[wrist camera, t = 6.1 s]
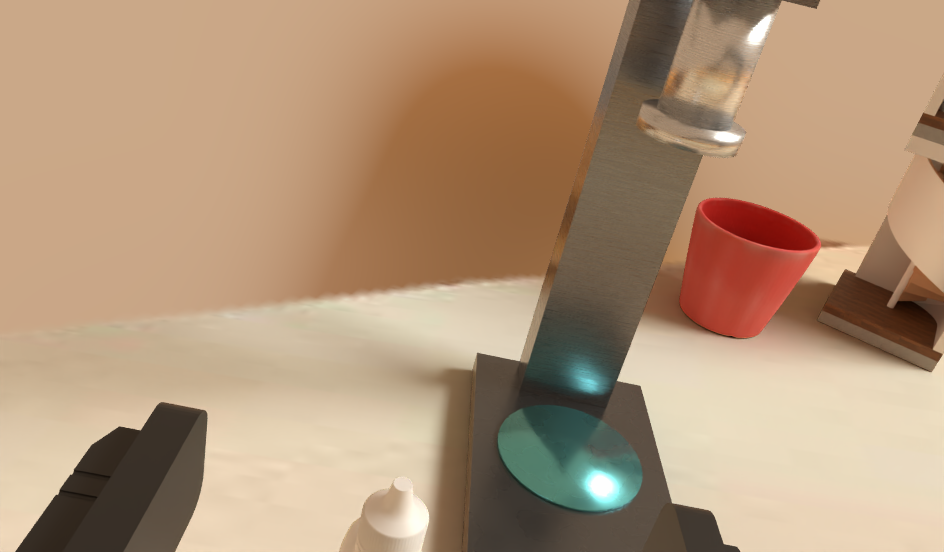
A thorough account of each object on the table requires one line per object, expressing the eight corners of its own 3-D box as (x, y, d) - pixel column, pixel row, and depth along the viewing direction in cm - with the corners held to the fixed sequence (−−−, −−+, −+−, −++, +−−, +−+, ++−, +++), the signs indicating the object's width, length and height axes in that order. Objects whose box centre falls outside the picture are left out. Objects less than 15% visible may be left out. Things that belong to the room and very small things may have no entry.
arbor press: (687, 617, 39) (1032, -29, 24) (205, 530, 38) (260, -225, 23) (633, 402, 55) (823, -70, 40) (293, 333, 53) (359, -187, 38)
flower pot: (641, 282, 73) (676, 190, 69) (735, 288, 77) (774, 201, 72) (697, 347, 64) (741, 247, 60) (800, 350, 68) (848, 256, 64)
